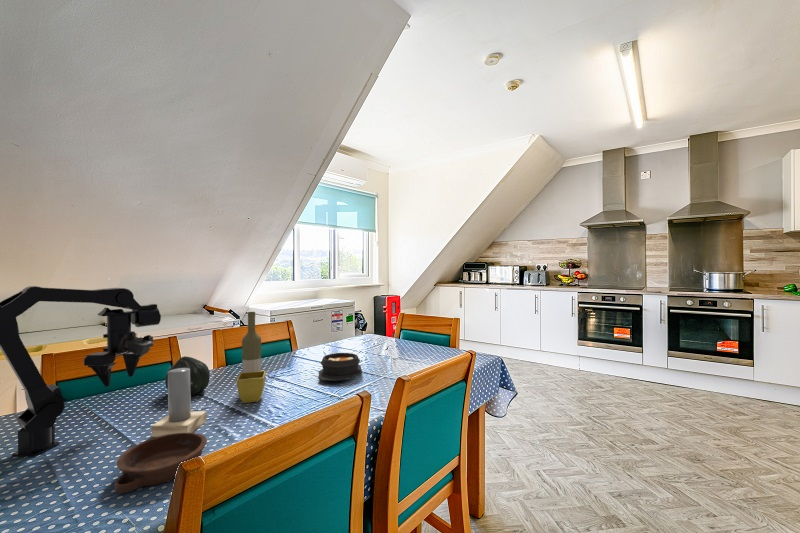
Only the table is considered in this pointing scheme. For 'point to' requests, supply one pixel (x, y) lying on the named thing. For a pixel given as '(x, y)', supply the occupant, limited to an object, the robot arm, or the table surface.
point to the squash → (193, 373)
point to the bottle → (251, 347)
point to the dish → (157, 460)
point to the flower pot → (251, 386)
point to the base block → (179, 424)
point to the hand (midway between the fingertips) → (119, 381)
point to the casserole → (339, 367)
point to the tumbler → (179, 395)
